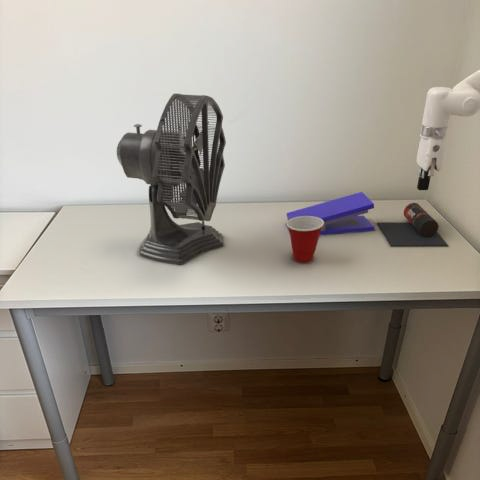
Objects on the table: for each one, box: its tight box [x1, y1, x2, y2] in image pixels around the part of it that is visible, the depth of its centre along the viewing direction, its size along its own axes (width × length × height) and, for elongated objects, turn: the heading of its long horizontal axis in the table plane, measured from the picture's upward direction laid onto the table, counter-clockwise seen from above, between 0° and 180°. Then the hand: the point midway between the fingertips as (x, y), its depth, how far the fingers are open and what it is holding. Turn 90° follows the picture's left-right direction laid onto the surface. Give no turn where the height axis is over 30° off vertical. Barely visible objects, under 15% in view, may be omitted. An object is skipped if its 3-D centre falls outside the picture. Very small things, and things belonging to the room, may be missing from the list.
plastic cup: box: [286, 216, 324, 264], centre depth 151 cm, size 11×11×12 cm
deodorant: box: [403, 202, 440, 237], centre depth 171 cm, size 6×6×15 cm
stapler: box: [286, 191, 376, 236], centre depth 171 cm, size 12×28×10 cm, turn 101°
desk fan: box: [116, 93, 227, 266], centre depth 145 cm, size 34×33×45 cm
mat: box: [376, 221, 449, 248], centre depth 169 cm, size 18×18×1 cm
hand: (422, 189), depth 168 cm, fingers closed
